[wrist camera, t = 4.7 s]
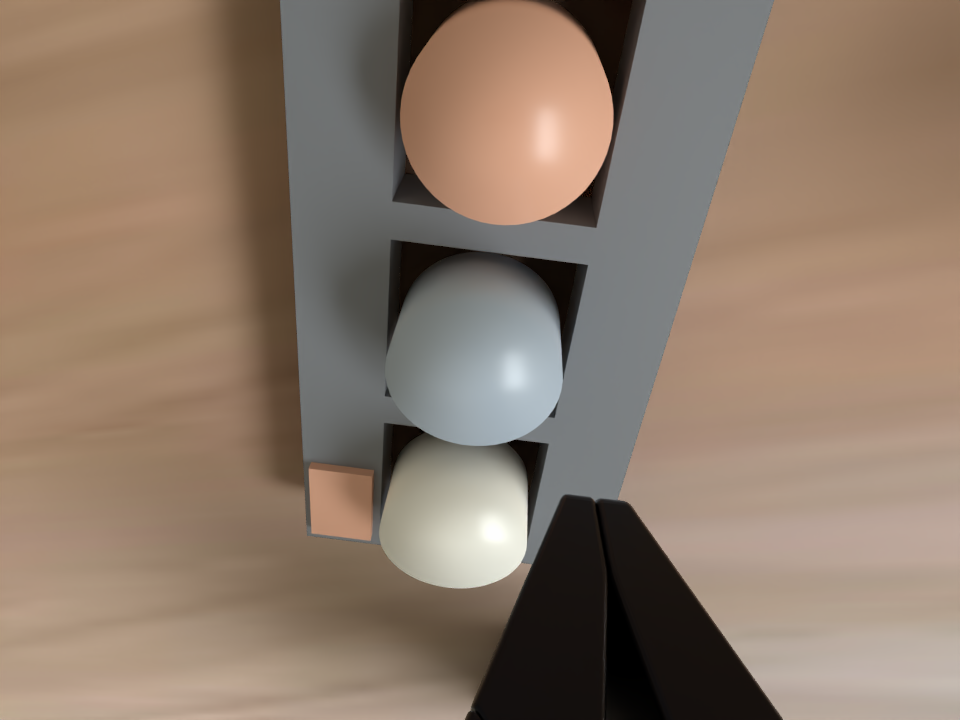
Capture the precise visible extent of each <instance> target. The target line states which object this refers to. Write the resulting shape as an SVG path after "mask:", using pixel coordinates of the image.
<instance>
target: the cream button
mask: <svg viewBox="0 0 960 720" xmlns="http://www.w3.org/2000/svg"><path fill="white" fill-rule="evenodd" d="M527 512H528V475H527V471H526V467H525V465H524V463H523V461H522V459H521V458H520V456H519V455H518V454H517V452H516V451H515V450H514V449H513V448H512V447H511V446H509V445H508V444H507V443H501V444H497V445H488V446H470V445H461V444H456V443H452V442H448V441H445V440H442V439H439V438H437V437H434V436H432V435H430V434H428V433H423V434H421V435H420V436H418V437H416V438H414V439H413V440H411V441H410V442H409V443H408V444H407V445H406V446H405V447H404V448H403V449H402V450H401V452H400V453H399V455H398V457H397V459H396V462H395V466H394V470H393V474H392V478H391V482H390V486H389V490H388V494H387V498H386V502H385V506H384V510H383V514H382V519H381V523H380V528H379V538H380V542H381V546H382V548H383V550H384V552H385V554H386V555H387V557H388V558H389V559H390V560H391V561H392V563H393V564H394V565H396V566H397V567H398V568H399V569H400V570H402V571H403V572H405V573H406V574H408V575H410V576H411V577H413V578H415V579H418V580H420V581H422V582H425V583H428V584H432V585H436V586H440V587H446V588H474V587H480V586H484V585H488V584H491V583H494V582H496V581H499V580H501V579H503V578H504V577H506V576H507V575H509V574H510V573H512V572H513V571H514V570H515V569H516V568H517V567H518V566H519V564H520V563H521V561H522V560H523V558H524V556H525V552H526V548H527Z"/></svg>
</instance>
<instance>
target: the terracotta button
mask: <svg viewBox="0 0 960 720" xmlns="http://www.w3.org/2000/svg"><path fill="white" fill-rule="evenodd" d="M400 127H401V133H402V140H403V144H404V147H405V151H406V154H407V156H408V159H409V161H410V163H411V166H412V168H413V169H414V171H415V173H416V174H417V176H418V178H419V179H420V180H421V182H422V183H423V184H424V186H425V187H426V188H427V189H428V190H429V191H430V193H431V194H432V195H433V196H434V197H435V198H437V199H438V200H439V201H440V202H441V203H443V204H444V205H445V206H447V207H448V208H450V209H452V210H453V211H455V212H456V213H458V214H461V215H463V216H465V217H467V218H470V219H473V220H476V221H479V222H483V223H488V224H494V225H519V224H525V223H530V222H534V221H537V220H540V219H544V218H546V217H548V216H550V215H552V214H555V213H557V212H558V211H560V210H561V209H563V208H565V207H566V206H568V205H569V204H570V203H572V202H573V201H574V200H575V199H577V198H578V197H579V196H580V195H581V194H582V193H583V192H584V191H585V190H586V189H587V187H588V186H589V185H590V183H591V182H592V181H593V179H594V178H595V176H596V175H597V173H598V171H599V170H600V168H601V166H602V164H603V162H604V159H605V157H606V155H607V152H608V148H609V145H610V141H611V136H612V129H613V103H612V95H611V91H610V87H609V83H608V80H607V78H606V75H605V72H604V69H603V67H602V64H601V61H600V58H599V56H598V53H597V51H596V48H595V46H594V43H593V41H592V40H591V38H590V36H589V34H588V32H587V31H586V30H585V28H584V27H583V26H582V24H581V23H580V22H579V21H578V20H577V19H576V18H575V17H574V16H573V15H572V14H571V13H570V12H569V11H567V10H566V9H565V8H563V7H562V6H561V5H559V4H558V3H556V2H554V1H552V0H470V1H469V2H467V3H465V4H463V5H462V6H460V7H459V8H458V9H456V10H455V11H454V12H453V13H451V14H450V15H449V16H448V17H447V18H446V19H445V20H444V21H443V22H442V23H441V25H440V26H439V27H438V29H437V30H436V31H435V33H434V34H433V36H432V37H431V38H430V40H429V41H428V43H427V44H426V45H425V47H424V48H423V50H422V51H421V53H420V54H419V55H418V57H417V59H416V60H415V62H414V64H413V66H412V68H411V70H410V72H409V75H408V77H407V80H406V82H405V86H404V90H403V94H402V99H401V108H400Z"/></svg>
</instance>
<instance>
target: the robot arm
mask: <svg viewBox="0 0 960 720" xmlns="http://www.w3.org/2000/svg"><path fill="white" fill-rule="evenodd" d="M465 720H783V719H782V717H781V716H780V714H779V713H778V712H777V710H776V709H775V707H774V706H773V705H772V703H771V702H770V700H769V699H768V697H767V696H766V695H765V693H764V692H763V690H762V689H761V688H760V686H759V685H758V683H757V682H756V681H755V679H754V678H753V676H752V675H751V674H750V672H749V671H748V669H747V668H746V667H745V665H744V664H743V662H742V661H741V660H740V658H739V657H738V655H737V654H736V652H735V651H734V650H733V648H732V647H731V645H730V644H729V643H728V641H727V640H726V638H725V637H724V636H723V634H722V633H721V631H720V630H719V629H718V627H717V626H716V624H715V623H714V622H713V620H712V619H711V617H710V616H709V614H708V613H707V612H706V610H705V609H704V607H703V606H702V605H701V603H700V602H699V600H698V599H697V598H696V596H695V595H694V593H693V592H692V591H691V589H690V588H689V586H688V585H687V584H686V582H685V581H684V579H683V578H682V577H681V575H680V574H679V572H678V571H677V569H676V568H675V567H674V565H673V564H672V562H671V561H670V560H669V558H668V557H667V555H666V554H665V553H664V551H663V550H662V548H661V547H660V546H659V544H658V543H657V541H656V540H655V539H654V537H653V536H652V534H651V533H650V531H649V530H648V529H647V527H646V526H645V524H644V523H643V522H642V520H641V519H640V517H639V516H638V515H637V513H636V512H635V510H634V509H633V508H632V506H631V505H630V504H629V503H627V502H625V501H620V500H612V499H603V498H599V499H597V500H596V501H594V499H593V498H591V497H587V496H579V495H571V494H565V495H563V496H562V497H561V499H560V501H559V503H558V505H557V508H556V510H555V512H554V515H553V517H552V519H551V522H550V524H549V526H548V529H547V531H546V533H545V536H544V538H543V540H542V543H541V545H540V547H539V550H538V552H537V554H536V557H535V559H534V561H533V564H532V566H531V568H530V571H529V573H528V575H527V578H526V580H525V582H524V585H523V587H522V589H521V592H520V594H519V596H518V598H517V601H516V603H515V605H514V608H513V610H512V612H511V615H510V617H509V619H508V622H507V624H506V626H505V629H504V631H503V633H502V636H501V638H500V640H499V643H498V645H497V647H496V650H495V652H494V654H493V657H492V659H491V661H490V664H489V666H488V668H487V671H486V673H485V675H484V678H483V680H482V682H481V685H480V687H479V689H478V692H477V694H476V696H475V699H474V701H473V703H472V706H471V711H469V712H468V714H467V716H466V718H465Z"/></svg>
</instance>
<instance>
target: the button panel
mask: <svg viewBox="0 0 960 720" xmlns="http://www.w3.org/2000/svg"><path fill="white" fill-rule="evenodd" d="M773 2H774V0H632V5H631V10H630V14H629V19H628V24H627V29H626V34H625V38H624V43H623V48H622V53H621V57H620V62H619V67H618V72H617V77H616V81H615V86H614V91H613V96H612V103H613V129H612V136H611V141H610V145H609V148H608V152H607V155H606V157H605V159H604V162H603V164H602V166H601V168H600V170H599V171H598V173H597V175H596V177H595V182H594V186H593V191H592V196H591V197H583V196H579V197H578V198H577V199H575V200H574V201H573V202H572V203H570V204H569V205H568V206H566V207H565V208H563V209H561V210H560V211H558V212H557V213H555V214H552V215H550V216H548V217H546V218H544V219H540V220H537V221H534V222H530V223H525V224H519V225H494V224H488V223H483V222H479V221H476V220H473V219H470V218H467V217H465V216H463V215H461V214H458V213H456V212H455V211H453V210H452V209H450V208H448V207H447V206H445V205H444V204H443V203H441V202H440V201H439V200H438V199H437V198H435V197H434V196H433V195H432V194H431V193H430V191H429V190H428V189H427V188H426V187H425V186H424V184H423V183H422V182H421V180H420V179H419V178H418V176H417V175H413V174H405V162H406V151H405V147H404V144H403V140H402V133H401V127H400V108H401V99H402V94H403V90H404V86H405V82H406V80H407V77H408V75H409V72H410V57H411V36H412V15H413V0H280V10H281V30H282V50H283V69H284V89H285V109H286V129H287V148H288V168H289V188H290V208H291V227H292V247H293V267H294V287H295V306H296V326H297V346H298V366H299V385H300V405H301V425H302V445H303V464H304V484H305V504H306V524H307V536H314V537H322V538H330V539H338V540H346V541H354V542H362V543H370V544H377V545H381V542H380V538H379V528H380V523H381V519H382V514H383V510H384V506H385V502H386V498H387V494H388V490H389V486H390V478H391V457H392V436H393V424H398V425H406V426H414V427H417V426H416V425H414V424H413V423H412V422H411V421H410V420H408V419H407V418H406V417H405V415H404V414H403V413H402V412H401V411H400V410H399V408H398V407H397V405H396V404H395V402H394V400H393V399H392V397H391V395H390V392H389V389H388V387H387V382H386V377H385V364H386V357H387V353H388V350H389V347H390V344H391V341H392V337H393V334H394V331H395V328H396V325H397V322H398V309H399V288H400V267H401V246H402V241H407V242H415V243H423V244H430V245H438V246H446V247H454V248H461V249H469V250H477V251H485V252H492V253H500V254H508V255H516V256H523V257H531V258H539V259H547V260H554V261H562V262H570V263H577V268H576V272H575V277H574V282H573V287H572V292H571V296H570V301H569V306H568V311H567V315H566V320H565V325H564V330H563V335H562V339H561V352H562V371H563V383H562V390H561V393H560V397H559V400H558V402H557V404H556V406H555V408H554V409H553V411H552V412H551V413H550V415H549V416H548V417H547V418H546V419H545V420H544V422H543V423H541V424H540V425H539V426H538V427H537V428H535V429H534V430H532V431H531V432H529V433H528V434H526V435H524V436H522V437H520V438H518V439H516V440H524V441H532V442H539V443H540V445H539V449H538V454H537V459H536V464H535V468H534V473H533V478H532V483H531V488H530V492H529V497H528V512H527V548H526V552H525V556H524V558H523V560H522V561H521V563H528V564H533V561H534V559H535V557H536V554H537V552H538V550H539V547H540V545H541V543H542V540H543V538H544V536H545V533H546V531H547V529H548V526H549V524H550V522H551V519H552V517H553V515H554V512H555V510H556V508H557V505H558V503H559V501H560V499H561V497H562V496H563V495H565V494H571V495H579V496H587V497H591V498H593V499H594V501H596V500H597V499H599V498H603V499H612V500H617V499H618V496H619V493H620V490H621V487H622V483H623V480H624V477H625V474H626V471H627V468H628V464H629V461H630V458H631V455H632V452H633V448H634V445H635V442H636V439H637V436H638V432H639V429H640V426H641V423H642V420H643V417H644V413H645V410H646V407H647V404H648V401H649V397H650V394H651V391H652V388H653V385H654V381H655V378H656V375H657V372H658V369H659V366H660V362H661V359H662V356H663V353H664V350H665V346H666V343H667V340H668V337H669V334H670V330H671V327H672V324H673V321H674V318H675V315H676V311H677V308H678V305H679V302H680V299H681V295H682V292H683V289H684V286H685V283H686V279H687V276H688V273H689V270H690V267H691V263H692V260H693V257H694V254H695V251H696V248H697V244H698V241H699V238H700V235H701V232H702V228H703V225H704V222H705V219H706V216H707V212H708V209H709V206H710V203H711V200H712V197H713V193H714V190H715V187H716V184H717V181H718V177H719V174H720V171H721V168H722V165H723V161H724V158H725V155H726V152H727V149H728V146H729V142H730V139H731V136H732V133H733V130H734V126H735V123H736V120H737V117H738V114H739V110H740V107H741V104H742V101H743V98H744V95H745V91H746V88H747V85H748V82H749V79H750V75H751V72H752V69H753V66H754V63H755V59H756V56H757V53H758V50H759V47H760V43H761V40H762V37H763V34H764V31H765V28H766V24H767V21H768V18H769V15H770V12H771V8H772V5H773Z"/></svg>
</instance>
